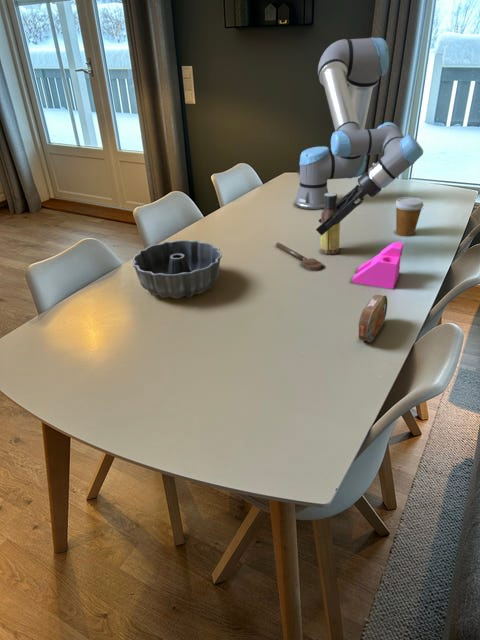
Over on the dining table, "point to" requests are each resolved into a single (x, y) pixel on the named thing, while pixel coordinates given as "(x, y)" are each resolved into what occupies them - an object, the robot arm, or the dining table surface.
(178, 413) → the dining table surface
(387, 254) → the bracket
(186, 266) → the bundt pan
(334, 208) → the sauce bottle
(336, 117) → the robot arm
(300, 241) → the dining table surface
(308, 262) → the wooden spoon
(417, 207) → the disposable coffee cup
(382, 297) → the tin
